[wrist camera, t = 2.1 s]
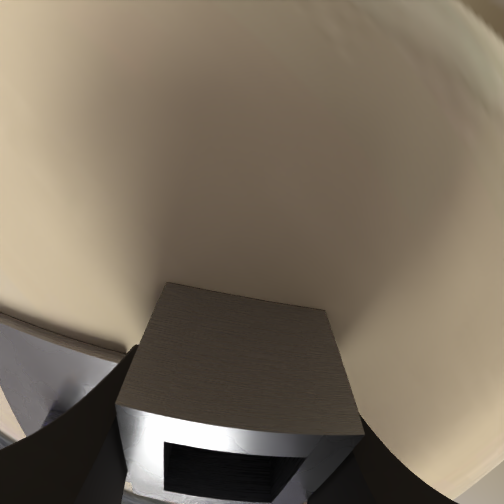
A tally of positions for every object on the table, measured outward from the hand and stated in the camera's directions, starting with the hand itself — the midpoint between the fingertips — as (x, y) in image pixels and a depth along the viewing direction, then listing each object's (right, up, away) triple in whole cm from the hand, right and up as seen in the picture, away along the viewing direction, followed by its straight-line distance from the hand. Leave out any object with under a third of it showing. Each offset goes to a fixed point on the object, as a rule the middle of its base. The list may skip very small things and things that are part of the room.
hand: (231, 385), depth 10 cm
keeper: (-9, -4, +3) cm, 11 cm away
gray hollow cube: (0, +1, +1) cm, 1 cm away
